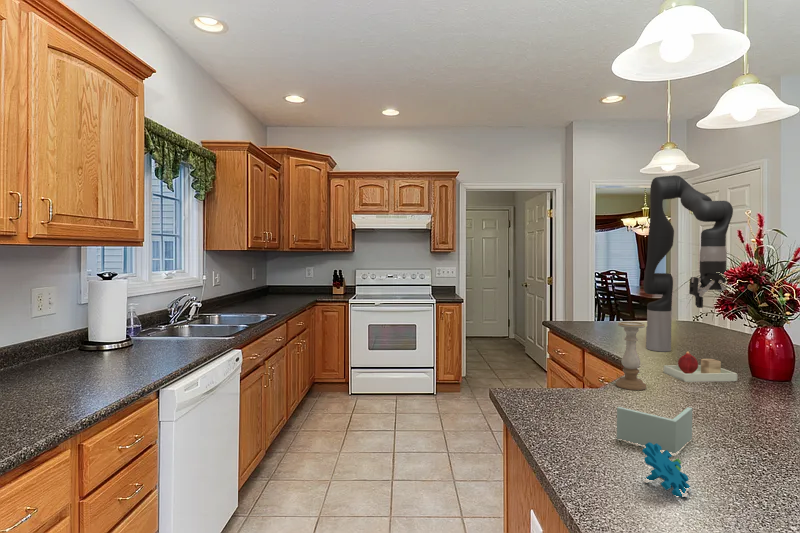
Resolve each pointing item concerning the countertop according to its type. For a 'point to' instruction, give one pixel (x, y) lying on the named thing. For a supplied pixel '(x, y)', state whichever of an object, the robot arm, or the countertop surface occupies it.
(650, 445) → the teal irregular piece
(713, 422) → the countertop surface
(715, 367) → the maple block
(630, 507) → the countertop surface
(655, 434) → the right angle wall
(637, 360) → the candle holder
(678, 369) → the tray
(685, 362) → the pomegranate
